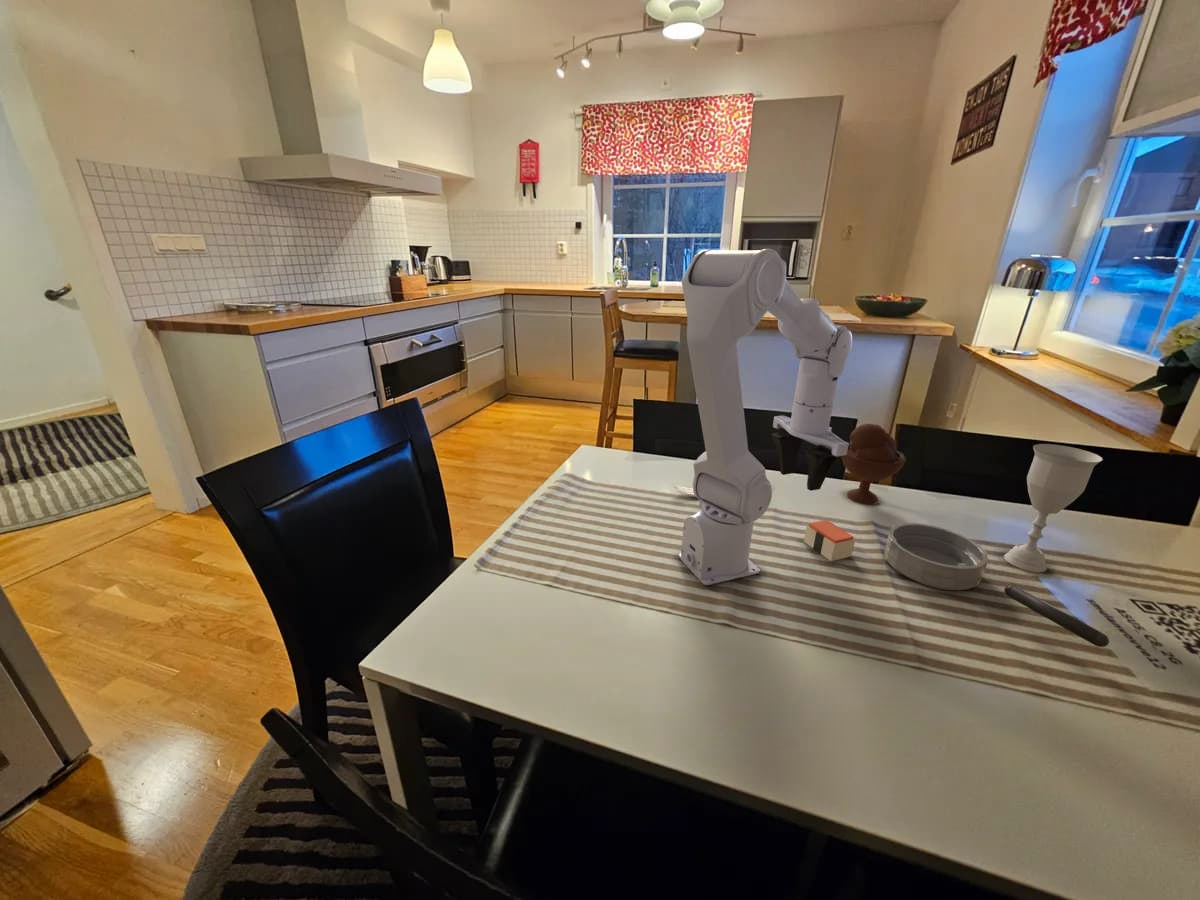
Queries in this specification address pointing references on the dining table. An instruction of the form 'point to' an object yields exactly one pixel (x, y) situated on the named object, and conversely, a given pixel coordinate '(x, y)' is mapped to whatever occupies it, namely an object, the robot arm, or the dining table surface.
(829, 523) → the sushi
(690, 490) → the cooking utensil
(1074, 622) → the pan handle
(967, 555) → the pan
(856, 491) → the ice cream bowl
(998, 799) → the dining table surface
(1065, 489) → the chalice
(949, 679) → the dining table surface
